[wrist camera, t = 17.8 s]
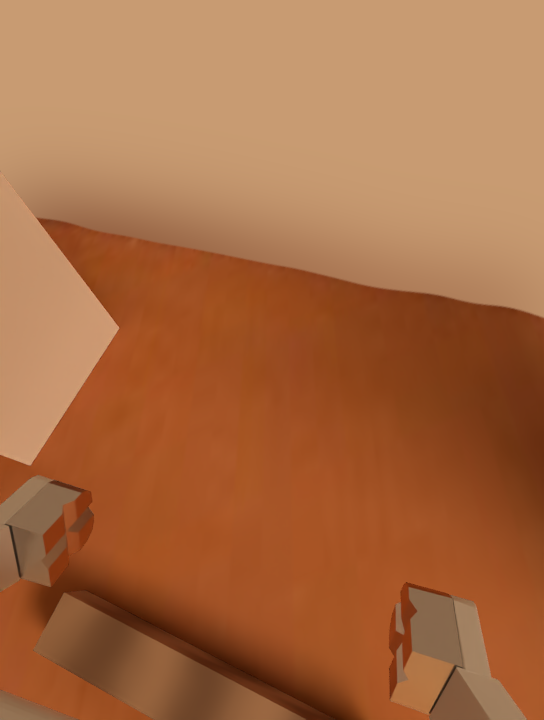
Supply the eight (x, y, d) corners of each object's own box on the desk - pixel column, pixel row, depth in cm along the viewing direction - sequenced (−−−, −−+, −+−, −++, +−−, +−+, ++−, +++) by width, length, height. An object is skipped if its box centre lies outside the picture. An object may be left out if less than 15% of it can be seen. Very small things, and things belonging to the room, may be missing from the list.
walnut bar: (380, 740, 27) (390, 763, 24) (363, 810, 26) (372, 844, 22) (87, 589, 32) (64, 592, 28) (60, 641, 30) (32, 650, 27)
